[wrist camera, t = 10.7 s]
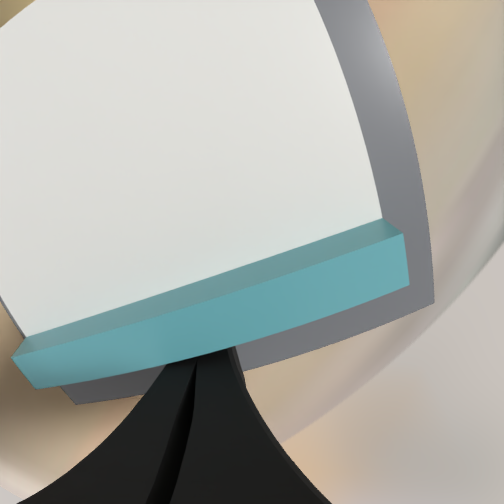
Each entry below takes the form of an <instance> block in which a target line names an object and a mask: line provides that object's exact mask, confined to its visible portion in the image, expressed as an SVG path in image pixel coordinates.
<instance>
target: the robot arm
mask: <svg viewBox="0 0 504 504" xmlns="http://www.w3.org/2000/svg"><path fill="white" fill-rule="evenodd" d="M17 504H332V503H331V502H330V501H328V499H327V498H326V497H324V495H323V494H321V492H320V491H319V490H317V488H316V487H315V486H314V485H313V484H312V483H311V482H310V481H309V479H308V478H307V477H306V476H305V475H304V474H303V473H302V471H301V470H300V469H299V468H298V467H297V465H296V464H295V463H294V462H293V461H292V460H291V458H290V457H289V456H288V455H287V454H286V452H285V451H284V449H283V448H282V446H281V445H280V444H279V442H278V441H277V440H276V438H275V437H274V435H273V434H272V432H271V431H270V429H269V428H268V426H267V425H266V423H265V421H264V420H263V418H262V417H261V415H260V413H259V411H258V410H257V408H256V406H255V404H254V402H253V401H252V399H251V397H250V395H249V393H248V391H247V389H246V384H245V378H244V375H243V371H242V368H241V364H240V361H239V357H238V354H237V350H236V347H235V346H232V347H229V348H225V349H222V350H218V351H215V352H211V353H207V354H204V355H200V356H196V357H192V358H188V359H184V360H180V361H176V362H172V363H168V364H166V365H165V367H164V368H163V370H162V371H161V373H160V374H159V375H158V377H157V378H156V380H155V381H154V382H153V384H152V385H151V386H150V388H149V389H148V391H147V392H146V393H145V395H144V396H143V397H142V398H141V400H140V401H139V402H138V403H137V405H136V406H135V407H134V408H133V410H132V411H131V412H130V413H129V415H128V416H127V417H126V418H125V419H124V420H123V421H122V422H121V424H120V425H119V426H118V427H117V428H116V429H115V430H114V431H113V432H112V433H111V434H110V435H109V436H108V437H107V438H106V439H105V440H104V441H103V442H102V443H101V444H100V445H99V446H98V447H97V448H96V449H95V450H93V451H92V452H91V453H90V454H89V455H88V456H86V457H85V458H84V459H83V460H82V461H80V462H79V463H78V464H77V465H76V466H74V467H73V468H72V469H71V470H70V471H68V472H67V473H66V474H64V475H63V476H61V477H60V478H59V479H57V480H56V481H54V482H53V483H51V484H50V485H48V486H47V487H45V488H44V489H42V490H41V491H39V492H37V493H36V494H34V495H32V496H30V497H29V498H27V499H25V500H23V501H21V502H19V503H17Z"/></svg>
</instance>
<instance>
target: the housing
mask: <svg viewBox="0 0 504 504" xmlns="http://www.w3.org/2000/svg"><path fill="white" fill-rule="evenodd" d="M34 1H35V0H0V28H1V27H2V26H3V25H5V24H6V23H7V22H8V21H9V20H11V19H12V18H13V17H14V16H16V15H17V14H18V13H19V12H21V11H22V10H23V9H24V8H26V7H27V6H28V5H30V4H31V3H32V2H34ZM314 2H315V4H316V6H317V8H318V11H319V13H320V15H321V18H322V20H323V22H324V25H325V27H326V30H327V32H328V35H329V37H330V40H331V42H332V45H333V47H334V50H335V52H336V55H337V58H338V61H339V63H340V66H341V69H342V72H343V74H344V77H345V80H346V83H347V86H348V89H349V92H350V95H351V98H352V101H353V104H354V108H355V111H356V114H357V117H358V121H359V124H360V128H361V131H362V135H363V138H364V142H365V145H366V149H367V153H368V157H369V161H370V165H371V169H372V173H373V177H374V181H375V185H376V190H377V194H378V199H379V204H380V208H381V213H382V218H383V219H385V220H386V221H387V222H389V223H390V224H391V225H393V226H394V227H395V228H397V229H398V230H399V231H401V232H402V233H403V236H404V243H405V250H406V258H407V266H408V274H409V284H410V285H408V286H406V287H403V288H401V289H398V290H396V291H393V292H391V293H388V294H386V295H383V296H381V297H378V298H375V299H373V300H370V301H368V302H365V303H362V304H360V305H357V306H354V307H352V308H349V309H346V310H343V311H341V312H338V313H335V314H332V315H329V316H327V317H324V318H321V319H318V320H315V321H312V322H309V323H306V324H303V325H300V326H297V327H294V328H291V329H288V330H285V331H282V332H279V333H276V334H272V335H269V336H266V337H263V338H260V339H256V340H253V341H250V342H246V343H243V344H239V345H236V346H235V347H236V350H237V354H238V357H239V361H240V364H241V368H242V371H247V370H251V369H254V368H258V367H261V366H265V365H268V364H272V363H275V362H278V361H282V360H285V359H288V358H291V357H294V356H298V355H301V354H304V353H307V352H310V351H313V350H316V349H319V348H322V347H325V346H328V345H330V344H333V343H336V342H339V341H342V340H345V339H347V338H350V337H353V336H355V335H358V334H361V333H363V332H366V331H369V330H371V329H374V328H376V327H379V326H381V325H384V324H386V323H389V322H391V321H394V320H396V319H399V318H401V317H403V316H406V315H408V314H410V313H413V312H415V311H417V310H420V309H422V308H424V307H426V306H429V305H431V304H433V303H434V282H433V266H432V254H431V243H430V234H429V225H428V217H427V210H426V203H425V197H424V190H423V185H422V179H421V173H420V168H419V163H418V158H417V153H416V149H415V144H414V140H413V135H412V131H411V127H410V123H409V119H408V115H407V112H406V108H405V104H404V101H403V97H402V94H401V91H400V87H399V84H398V81H397V78H396V74H395V71H394V68H393V65H392V62H391V59H390V57H389V54H388V51H387V48H386V45H385V43H384V40H383V37H382V35H381V32H380V30H379V27H378V25H377V22H376V20H375V17H374V15H373V13H372V10H371V8H370V6H369V4H368V1H367V0H314ZM0 301H1V303H2V305H3V306H4V308H5V310H6V311H7V313H8V315H9V316H10V318H11V319H12V321H13V323H14V324H15V326H16V327H17V329H18V330H19V332H20V333H21V335H22V336H23V338H24V339H25V338H26V336H25V335H24V333H23V332H22V330H21V329H20V327H19V326H18V324H17V322H16V321H15V319H14V318H13V316H12V315H11V313H10V311H9V310H8V308H7V306H6V305H5V303H4V301H3V300H2V298H1V296H0ZM165 365H166V364H164V365H160V366H156V367H152V368H147V369H143V370H138V371H134V372H129V373H125V374H120V375H115V376H110V377H105V378H100V379H95V380H90V381H84V382H79V383H73V384H67V385H61V386H60V387H61V388H62V389H63V391H64V392H65V393H66V394H67V395H68V397H69V398H70V399H71V400H72V401H73V402H74V403H75V405H77V404H85V403H93V402H100V401H107V400H113V399H119V398H125V397H131V396H137V395H143V394H145V393H146V392H147V391H148V389H149V388H150V386H151V385H152V384H153V382H154V381H155V380H156V378H157V377H158V375H159V374H160V373H161V371H162V370H163V368H164V367H165Z"/></svg>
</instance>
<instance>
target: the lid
mask: <svg viewBox="0 0 504 504" xmlns="http://www.w3.org/2000/svg"><path fill="white" fill-rule="evenodd" d="M408 285H410V284H409V274H408V266H407V258H406V250H405V243H404V236H403V233H402V232H401V231H399V230H398V229H397V228H395V227H394V226H393V225H391V224H390V223H389V222H387V221H386V220H385V219H383V218H382V213H381V208H380V204H379V199H378V194H377V190H376V185H375V181H374V177H373V173H372V169H371V165H370V161H369V157H368V153H367V149H366V145H365V142H364V138H363V135H362V131H361V128H360V124H359V121H358V117H357V114H356V111H355V108H354V104H353V101H352V98H351V95H350V92H349V89H348V86H347V83H346V80H345V77H344V74H343V72H342V69H341V66H340V63H339V61H338V58H337V55H336V52H335V50H334V47H333V45H332V42H331V40H330V37H329V35H328V32H327V30H326V27H325V25H324V22H323V20H322V18H321V15H320V13H319V11H318V8H317V6H316V4H315V2H314V0H35V1H34V2H32V3H31V4H30V5H28V6H27V7H26V8H24V9H23V10H22V11H21V12H19V13H18V14H17V15H16V16H14V17H13V18H12V19H11V20H9V21H8V22H7V23H6V24H5V25H3V26H2V27H1V28H0V296H1V298H2V300H3V301H4V303H5V305H6V306H7V308H8V310H9V311H10V313H11V315H12V316H13V318H14V319H15V321H16V322H17V324H18V326H19V327H20V329H21V330H22V332H23V333H24V335H25V336H26V338H25V339H24V341H23V342H22V343H21V345H20V346H19V347H18V349H17V350H16V351H15V353H14V354H13V355H12V357H11V359H12V360H13V361H14V363H15V364H16V365H17V367H18V368H19V369H20V371H21V372H22V373H23V374H24V376H25V377H26V378H27V379H28V381H29V382H30V383H31V384H32V386H33V387H34V388H35V389H42V388H49V387H55V386H61V385H67V384H73V383H79V382H84V381H90V380H95V379H100V378H105V377H110V376H115V375H120V374H125V373H129V372H134V371H138V370H143V369H147V368H152V367H156V366H160V365H164V364H168V363H172V362H176V361H180V360H184V359H188V358H192V357H196V356H200V355H204V354H207V353H211V352H215V351H218V350H222V349H225V348H229V347H232V346H236V345H239V344H243V343H246V342H250V341H253V340H256V339H260V338H263V337H266V336H269V335H272V334H276V333H279V332H282V331H285V330H288V329H291V328H294V327H297V326H300V325H303V324H306V323H309V322H312V321H315V320H318V319H321V318H324V317H327V316H329V315H332V314H335V313H338V312H341V311H343V310H346V309H349V308H352V307H354V306H357V305H360V304H362V303H365V302H368V301H370V300H373V299H375V298H378V297H381V296H383V295H386V294H388V293H391V292H393V291H396V290H398V289H401V288H403V287H406V286H408Z"/></svg>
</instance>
